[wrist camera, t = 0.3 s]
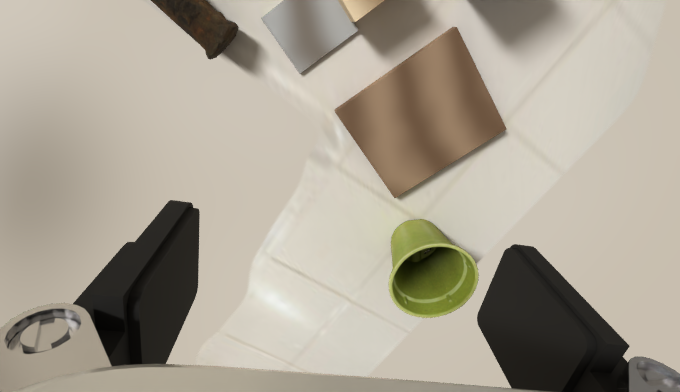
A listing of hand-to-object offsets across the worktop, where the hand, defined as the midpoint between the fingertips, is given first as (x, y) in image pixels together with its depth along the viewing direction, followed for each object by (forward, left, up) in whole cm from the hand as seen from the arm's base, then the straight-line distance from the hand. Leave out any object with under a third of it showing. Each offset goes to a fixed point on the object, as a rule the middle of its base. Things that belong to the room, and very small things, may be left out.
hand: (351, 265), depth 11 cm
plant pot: (+1, +21, -30) cm, 37 cm away
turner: (-5, -6, -30) cm, 31 cm away
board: (-7, +8, -30) cm, 32 cm away
